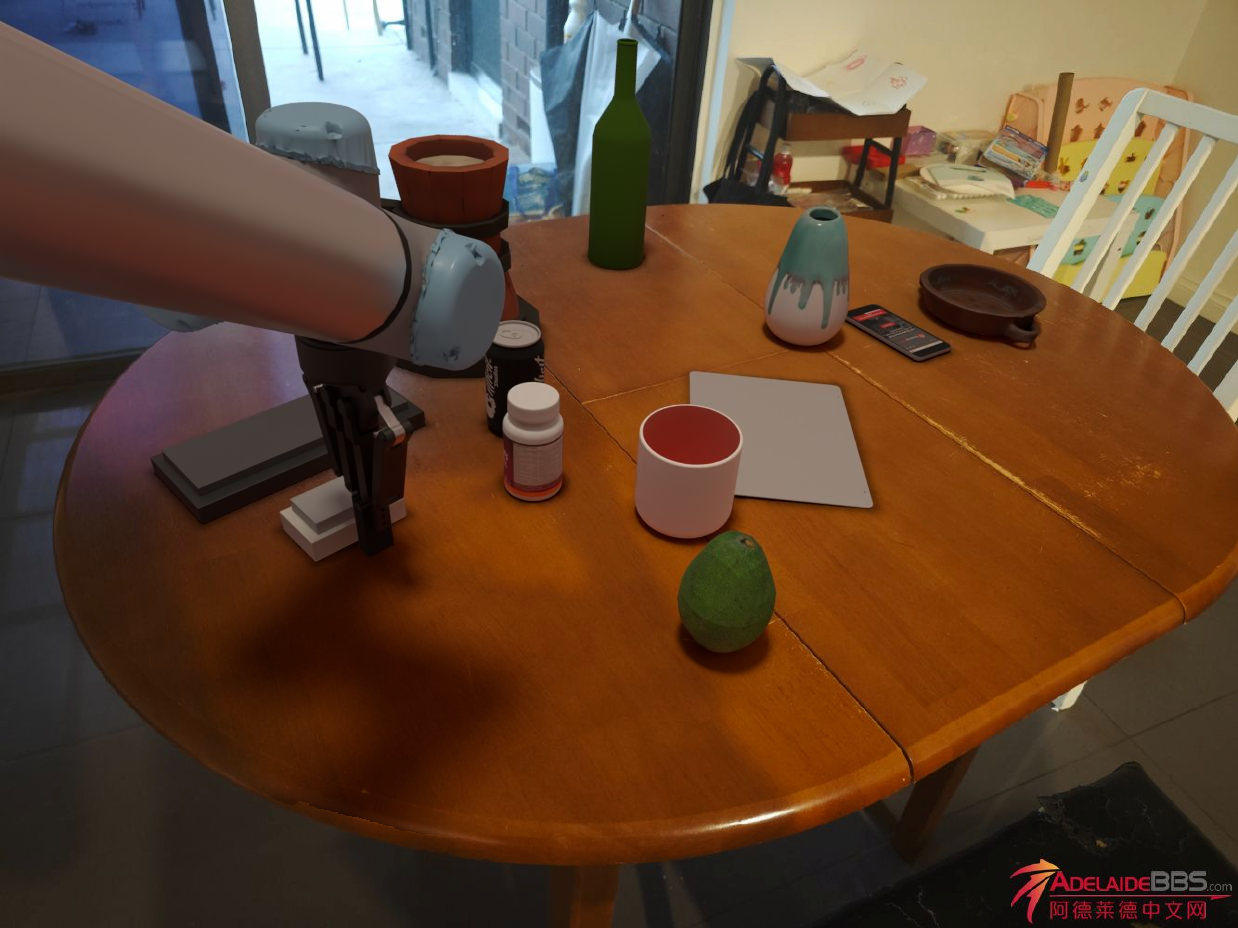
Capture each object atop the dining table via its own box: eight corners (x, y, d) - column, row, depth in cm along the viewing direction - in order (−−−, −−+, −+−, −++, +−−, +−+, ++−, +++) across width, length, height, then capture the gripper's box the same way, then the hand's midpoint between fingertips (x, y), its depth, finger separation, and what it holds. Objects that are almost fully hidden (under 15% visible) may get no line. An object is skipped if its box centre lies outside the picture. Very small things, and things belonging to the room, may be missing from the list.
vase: (794, 362, 115) (820, 234, 104) (742, 325, 123) (762, 203, 112) (857, 344, 120) (889, 221, 110) (804, 310, 128) (828, 192, 117)
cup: (704, 558, 83) (716, 480, 77) (616, 520, 87) (620, 442, 80) (745, 501, 90) (759, 425, 84) (662, 467, 94) (669, 392, 87)
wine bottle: (608, 243, 144) (619, 31, 125) (653, 258, 140) (671, 41, 121) (576, 259, 138) (583, 39, 119) (621, 275, 134) (636, 50, 115)
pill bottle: (507, 466, 93) (505, 376, 86) (564, 469, 93) (566, 380, 86) (500, 502, 88) (497, 410, 81) (560, 504, 88) (562, 413, 82)
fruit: (717, 591, 80) (735, 491, 72) (782, 642, 75) (808, 541, 68) (654, 631, 75) (667, 529, 68) (720, 688, 71) (741, 585, 63)
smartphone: (875, 302, 129) (954, 346, 120) (873, 307, 130) (952, 350, 120) (840, 312, 126) (919, 358, 116) (839, 317, 126) (917, 362, 117)
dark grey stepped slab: (202, 524, 83) (195, 500, 81) (154, 472, 89) (146, 449, 87) (425, 425, 98) (423, 403, 96) (372, 387, 104) (369, 365, 102)
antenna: (658, 371, 111) (659, 364, 110) (838, 390, 111) (840, 382, 110) (653, 490, 91) (655, 482, 90) (872, 513, 91) (875, 504, 90)
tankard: (519, 389, 106) (516, 193, 91) (327, 363, 108) (293, 168, 93) (557, 311, 123) (560, 135, 108) (391, 290, 125) (371, 115, 111)
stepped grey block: (315, 562, 80) (309, 531, 77) (283, 530, 83) (276, 500, 81) (406, 516, 85) (403, 486, 83) (373, 488, 89) (369, 458, 86)
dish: (957, 278, 141) (966, 249, 138) (1072, 337, 126) (1085, 306, 123) (880, 296, 133) (888, 266, 130) (992, 362, 118) (1003, 330, 115)
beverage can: (528, 446, 96) (528, 352, 89) (477, 431, 98) (472, 338, 91) (553, 416, 101) (554, 326, 94) (503, 403, 103) (501, 313, 96)
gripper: (434, 336, 64) (452, 564, 79) (340, 279, 71) (372, 498, 85) (346, 369, 60) (382, 605, 74) (255, 304, 67) (304, 531, 81)
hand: (377, 547), depth 80 cm, fingers closed
